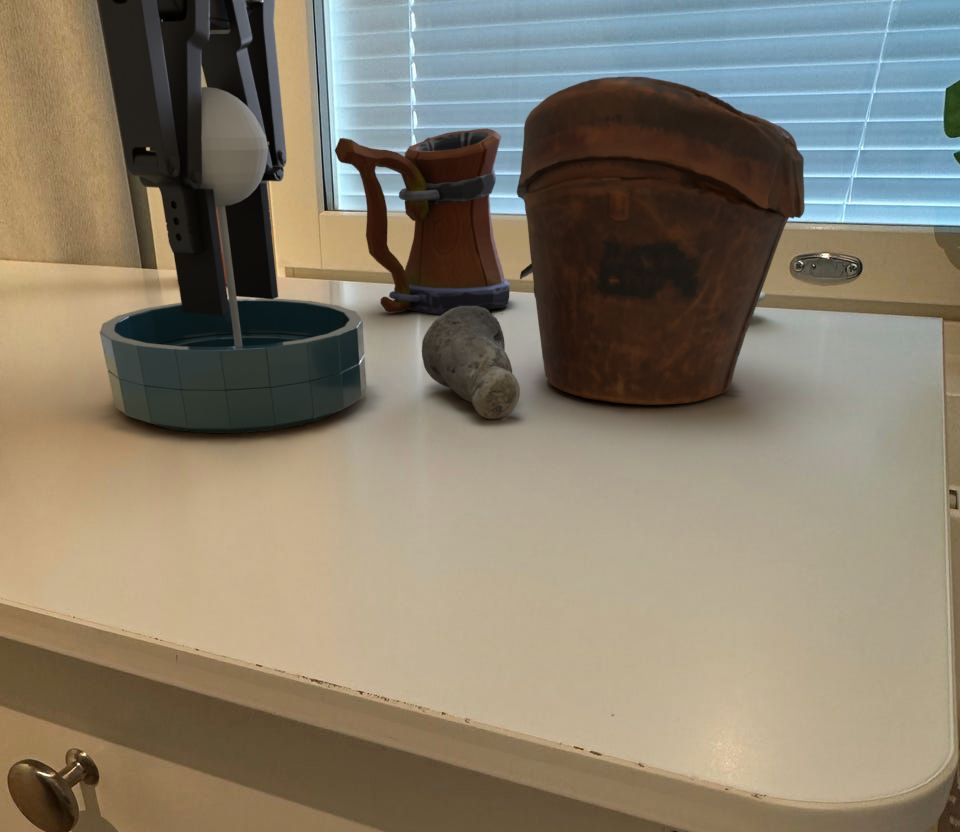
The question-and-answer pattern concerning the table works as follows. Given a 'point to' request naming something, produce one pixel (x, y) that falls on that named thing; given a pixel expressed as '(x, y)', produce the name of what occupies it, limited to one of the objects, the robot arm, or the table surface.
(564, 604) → the table surface
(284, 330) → the bowl
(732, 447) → the table surface
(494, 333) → the stone
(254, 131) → the lollipop
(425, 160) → the mug
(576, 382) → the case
